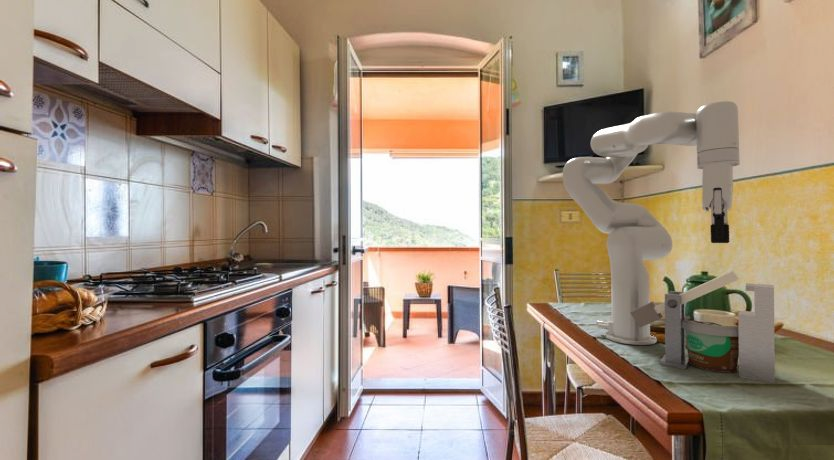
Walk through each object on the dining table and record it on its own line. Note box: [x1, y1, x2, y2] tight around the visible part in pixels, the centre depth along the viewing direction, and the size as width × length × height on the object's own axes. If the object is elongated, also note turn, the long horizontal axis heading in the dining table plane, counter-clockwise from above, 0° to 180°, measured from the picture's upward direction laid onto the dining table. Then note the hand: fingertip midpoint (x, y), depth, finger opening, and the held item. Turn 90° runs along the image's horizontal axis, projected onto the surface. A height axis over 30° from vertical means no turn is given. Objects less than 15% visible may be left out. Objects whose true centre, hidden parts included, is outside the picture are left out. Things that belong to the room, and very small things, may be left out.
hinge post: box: [659, 290, 690, 370], centre depth 94 cm, size 5×8×16 cm, turn 139°
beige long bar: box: [630, 270, 739, 327], centre depth 93 cm, size 22×4×4 cm
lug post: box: [737, 283, 776, 384], centre depth 84 cm, size 6×5×19 cm
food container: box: [681, 315, 739, 373], centre depth 90 cm, size 12×6×10 cm, turn 21°
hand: (720, 242), depth 89 cm, fingers closed
